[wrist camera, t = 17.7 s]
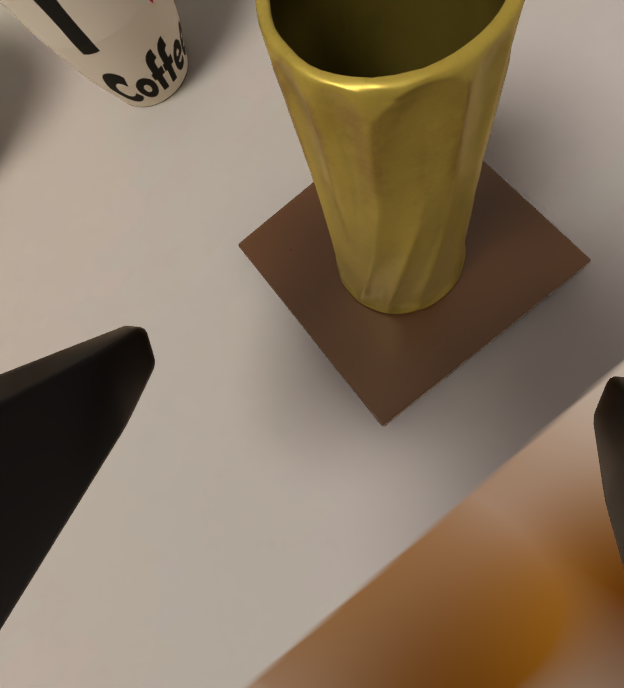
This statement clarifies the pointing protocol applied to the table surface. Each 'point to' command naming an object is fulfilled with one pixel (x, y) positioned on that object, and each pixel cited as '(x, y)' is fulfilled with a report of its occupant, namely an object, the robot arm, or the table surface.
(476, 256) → the serving board
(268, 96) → the table surface
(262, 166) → the table surface
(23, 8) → the cup
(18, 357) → the table surface
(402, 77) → the vase
